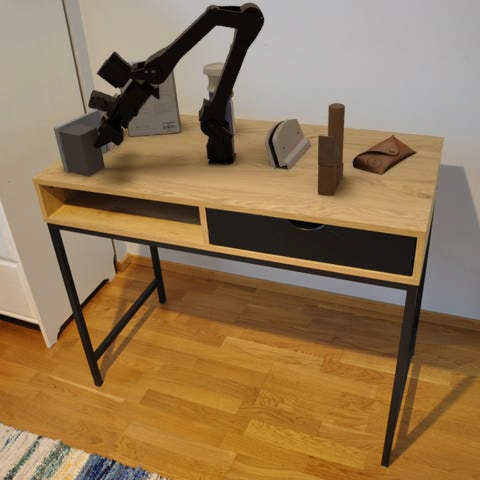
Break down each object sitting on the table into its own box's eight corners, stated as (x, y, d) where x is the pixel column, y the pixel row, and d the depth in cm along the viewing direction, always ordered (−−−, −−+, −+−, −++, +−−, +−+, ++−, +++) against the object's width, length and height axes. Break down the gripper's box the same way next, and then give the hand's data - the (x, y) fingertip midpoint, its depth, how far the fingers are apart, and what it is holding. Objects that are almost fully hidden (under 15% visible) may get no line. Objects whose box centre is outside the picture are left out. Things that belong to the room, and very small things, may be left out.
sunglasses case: (382, 176, 132) (371, 150, 131) (359, 183, 138) (348, 158, 137) (419, 151, 143) (409, 127, 142) (396, 158, 148) (387, 135, 147)
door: (109, 150, 156) (101, 108, 149) (67, 172, 145) (56, 128, 138) (101, 148, 157) (92, 107, 151) (59, 170, 146) (48, 126, 140)
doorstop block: (105, 167, 146) (96, 127, 140) (88, 176, 142) (79, 135, 136) (85, 162, 149) (76, 123, 144) (69, 171, 145) (59, 131, 139)
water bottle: (226, 125, 167) (220, 39, 154) (242, 133, 161) (237, 43, 148) (203, 132, 163) (194, 44, 150) (218, 140, 157) (211, 49, 144)
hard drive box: (181, 124, 170) (173, 57, 160) (180, 133, 164) (172, 64, 153) (130, 128, 170) (119, 61, 159) (127, 137, 163) (115, 69, 153)
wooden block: (317, 194, 126) (318, 118, 117) (328, 174, 135) (330, 101, 125) (333, 196, 125) (335, 119, 116) (343, 176, 134) (346, 103, 124)
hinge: (290, 170, 138) (276, 133, 134) (273, 174, 140) (259, 137, 137) (311, 145, 150) (299, 110, 147) (296, 148, 153) (284, 114, 149)
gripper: (108, 69, 141) (74, 115, 146) (98, 90, 125) (60, 141, 130) (144, 97, 145) (110, 141, 150) (139, 120, 129) (101, 169, 134)
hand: (95, 147), depth 141 cm, fingers closed
